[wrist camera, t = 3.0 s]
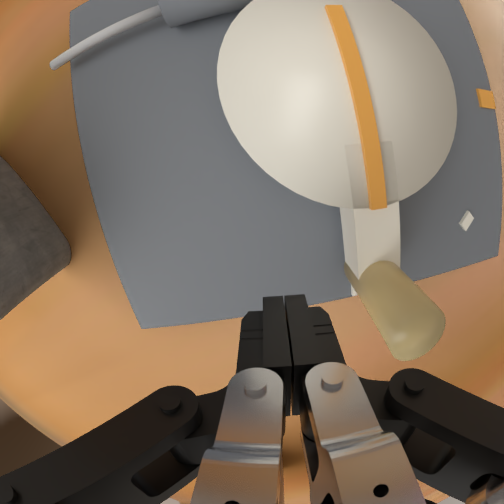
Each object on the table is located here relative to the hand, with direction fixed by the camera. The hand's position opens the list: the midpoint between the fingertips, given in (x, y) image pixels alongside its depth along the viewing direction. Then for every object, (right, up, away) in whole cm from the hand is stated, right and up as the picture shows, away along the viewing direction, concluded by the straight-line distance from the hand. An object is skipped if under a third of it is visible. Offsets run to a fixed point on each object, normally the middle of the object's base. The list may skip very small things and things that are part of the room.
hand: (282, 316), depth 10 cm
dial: (+4, +8, +3) cm, 10 cm away
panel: (+3, +11, +4) cm, 12 cm away
